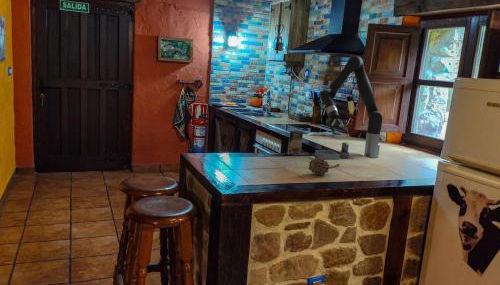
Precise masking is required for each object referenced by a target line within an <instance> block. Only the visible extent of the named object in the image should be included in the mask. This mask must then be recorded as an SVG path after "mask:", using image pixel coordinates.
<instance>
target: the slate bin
mask: <svg viewBox="0 0 500 285" xmlns="http://www.w3.org/2000/svg"><path fill="white" fill-rule="evenodd" d="M315 158H316V159H318V158H321V160H322V159H324V161H325V162H326V161H327V160H330V161H331V160H332V161H334V160H335V161H338V160H340V159H339V158H340V153H337V152H335V151H332V150H329V149H326V150H321V149H319V150H318V149H314V159H315Z"/></svg>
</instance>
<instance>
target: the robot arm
mask: <svg viewBox="0 0 500 285" xmlns="http://www.w3.org/2000/svg"><path fill="white" fill-rule="evenodd" d="M352 73H354V76H355V81H356V87H357V91H358V93H359V96H360V99H361V101H362V103H364V104H363V105H364V106H365V108H366V112H367V118H368V122H367V129H366V135H365V143H364V153H363V156H364V157H367V158H371V159H372V158H373V159H374V158H379V155H380V147H381V144H380V137H381V131H382V126H383V114H382V113H381V112H380V110H379V107H378V106H377V103H376V100H375V95H374V94H375V93H374V90H373V88H372V85H371V83H370V80H369V77H368V75H367V73H366V70H365V66H364V61H363V58H362V57H361V56H359V55H353V56H350V57H349V58H348V60H347V62H346V64H345V66H344V67H343V68H342V70H341V71H340V72H339V74H338V75H336V77H335V78H334V79H333V80H332V82H331V83H330V84H329V87H328V88H329V89H330V90H326V89H325V90H322V91H321V92H320V95H319V97H320V100H321V101H322V102H323V105H324V106H325V110H326V113H327V116H328V118H327V119H326V121H325V123H326V126H327V128H329V129H330V130H331V132H332V133H335V128H334V127H335V126H338V127H339V128H341V130H342V132H343V133H346V131H347V129H346V128H347V123H346V120H345V119H344V118H343V119H341V117H340V114H339V111H338V108H337V106H336V103H335V101H334V99H335V97H336V95H337V93H338V91H339V90H340V88H341V87H342V86H343V85H344V83H345V82H346V81H347V79H348V78H349V76H350V75H351V74H352Z"/></svg>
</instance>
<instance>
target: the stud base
mask: <svg viewBox="0 0 500 285" xmlns="http://www.w3.org/2000/svg"><path fill="white" fill-rule="evenodd" d="M339 160H354V158H353V157H350V156H349V158H341V157H340V158H339Z"/></svg>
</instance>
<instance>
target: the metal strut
mask: <svg viewBox="0 0 500 285" xmlns="http://www.w3.org/2000/svg"><path fill="white" fill-rule="evenodd" d="M349 144H350V143H349V142H342V143H341V150H339V154H340V157H341V158H349V157H350V156H349V155H350V152H349Z"/></svg>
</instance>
